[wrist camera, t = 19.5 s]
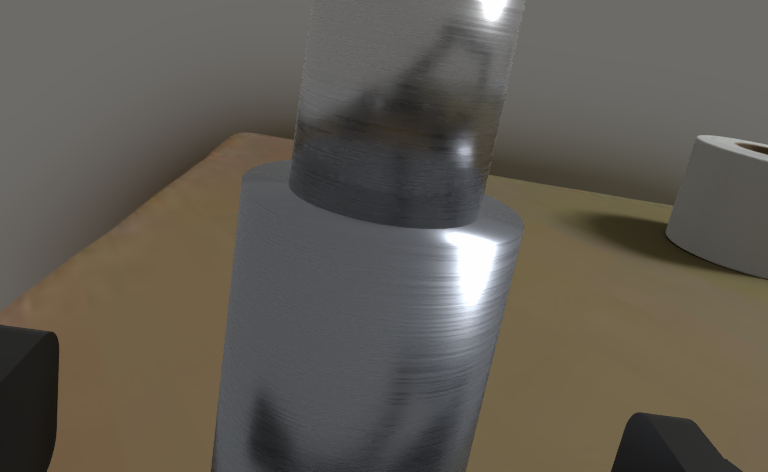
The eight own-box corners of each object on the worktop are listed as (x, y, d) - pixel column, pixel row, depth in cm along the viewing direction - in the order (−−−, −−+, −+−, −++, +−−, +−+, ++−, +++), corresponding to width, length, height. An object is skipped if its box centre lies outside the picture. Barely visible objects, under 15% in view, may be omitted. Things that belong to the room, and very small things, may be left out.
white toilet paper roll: (838, 268, 73) (878, 168, 70) (813, 298, 62) (859, 180, 58) (690, 222, 82) (718, 131, 79) (643, 241, 70) (674, 135, 67)
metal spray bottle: (316, 685, 18) (450, -54, 13) (418, 855, 15) (659, -42, 9) (144, 769, 16) (220, -113, 10) (222, 998, 12) (396, -126, 7)
